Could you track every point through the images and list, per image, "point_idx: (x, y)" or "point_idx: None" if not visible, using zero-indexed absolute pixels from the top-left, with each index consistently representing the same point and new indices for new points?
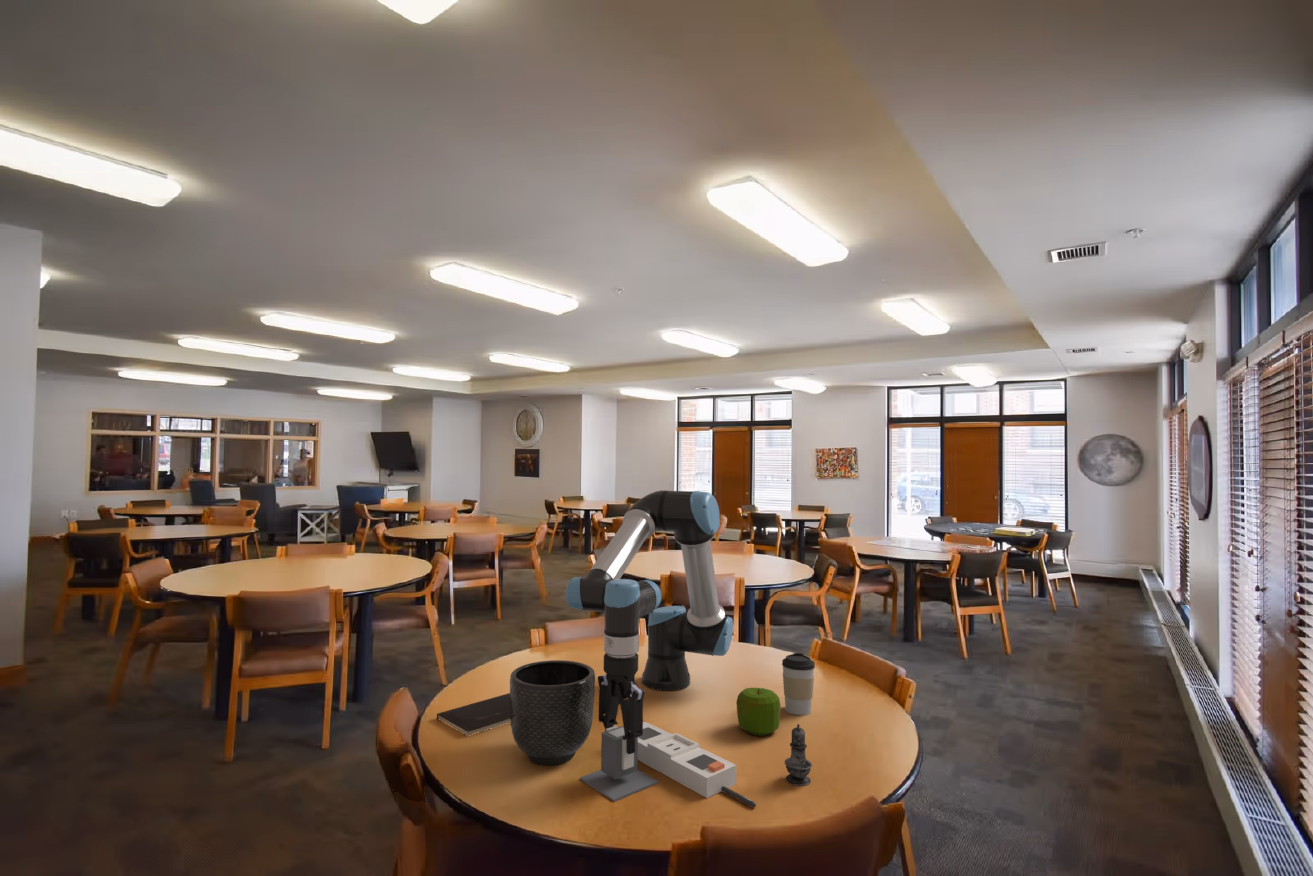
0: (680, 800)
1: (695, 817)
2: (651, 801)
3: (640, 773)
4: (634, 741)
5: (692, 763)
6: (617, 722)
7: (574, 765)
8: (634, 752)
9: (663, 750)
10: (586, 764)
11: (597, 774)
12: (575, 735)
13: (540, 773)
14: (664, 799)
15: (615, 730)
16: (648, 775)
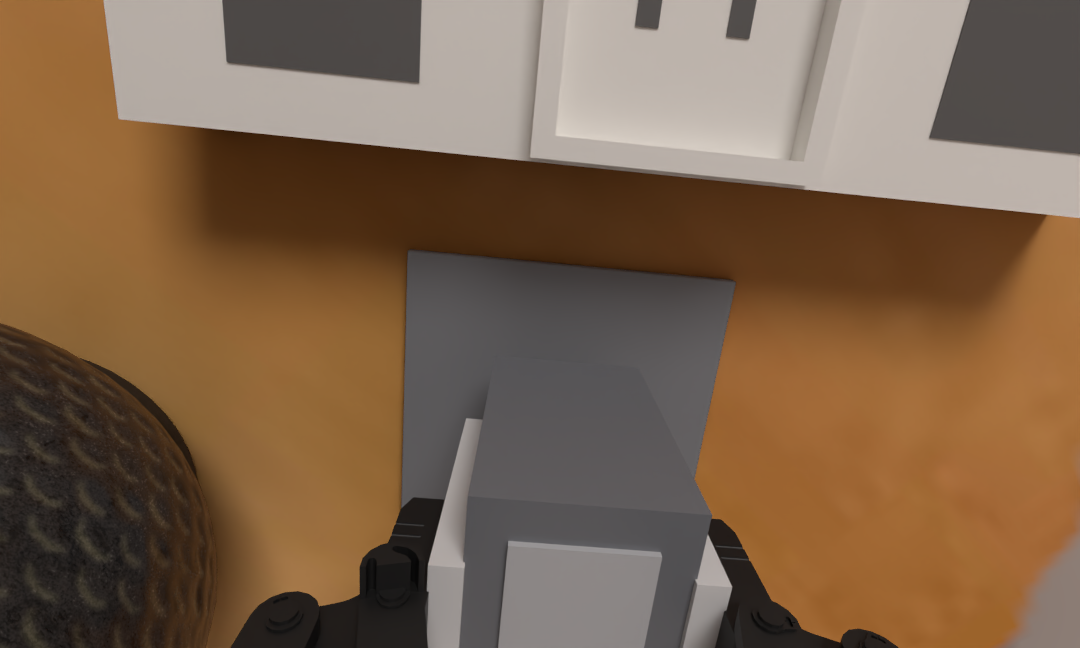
0: (930, 329)
1: (1067, 393)
2: (811, 431)
3: (596, 290)
4: (762, 595)
5: (991, 126)
6: (417, 562)
7: (252, 454)
8: (722, 522)
9: (723, 165)
10: (282, 405)
11: (434, 456)
12: (185, 634)
13: (227, 603)
14: (854, 377)
15: (516, 632)
16: (647, 273)
